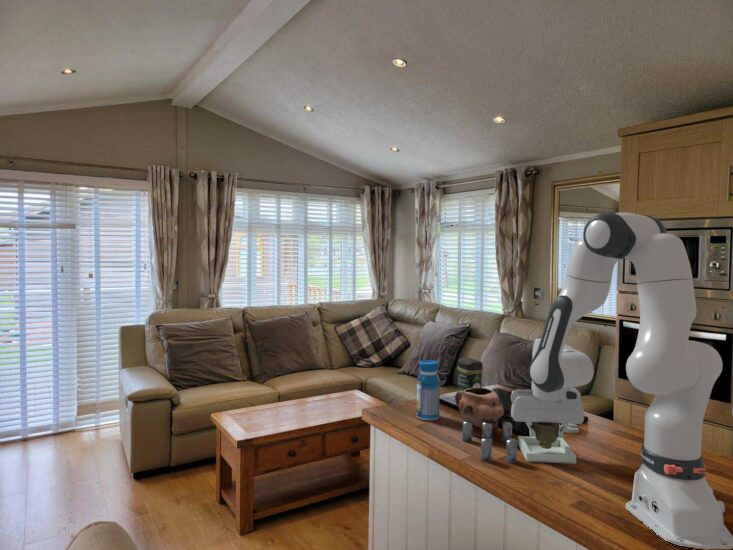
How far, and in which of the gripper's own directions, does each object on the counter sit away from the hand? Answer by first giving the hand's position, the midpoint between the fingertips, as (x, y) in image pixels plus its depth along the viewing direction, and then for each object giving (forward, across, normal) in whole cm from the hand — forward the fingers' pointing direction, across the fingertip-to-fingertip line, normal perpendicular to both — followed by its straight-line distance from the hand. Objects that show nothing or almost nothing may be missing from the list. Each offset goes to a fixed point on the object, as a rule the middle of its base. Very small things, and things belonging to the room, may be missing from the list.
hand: (546, 436), depth 147 cm
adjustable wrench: (+6, +5, +27) cm, 28 cm away
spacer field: (+5, -16, 0) cm, 17 cm away
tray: (+5, 0, 0) cm, 5 cm away
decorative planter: (+5, -18, +16) cm, 25 cm away
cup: (+3, 0, 0) cm, 3 cm away
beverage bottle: (+5, -34, +28) cm, 44 cm away
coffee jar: (+5, -18, +43) cm, 47 cm away
